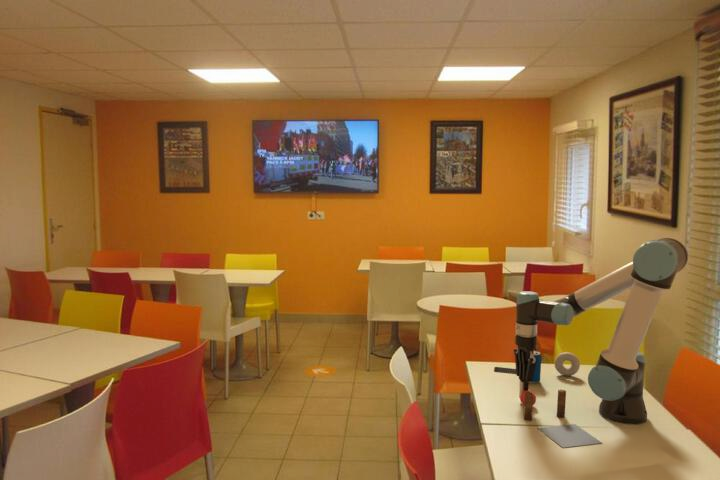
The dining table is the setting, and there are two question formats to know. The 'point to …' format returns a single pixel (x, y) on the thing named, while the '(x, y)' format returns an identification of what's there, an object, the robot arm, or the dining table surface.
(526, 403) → the post left
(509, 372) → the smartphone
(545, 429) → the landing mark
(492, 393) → the dining table surface
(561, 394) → the post right
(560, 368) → the donut
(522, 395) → the ball
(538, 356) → the beverage can
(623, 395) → the robot arm
